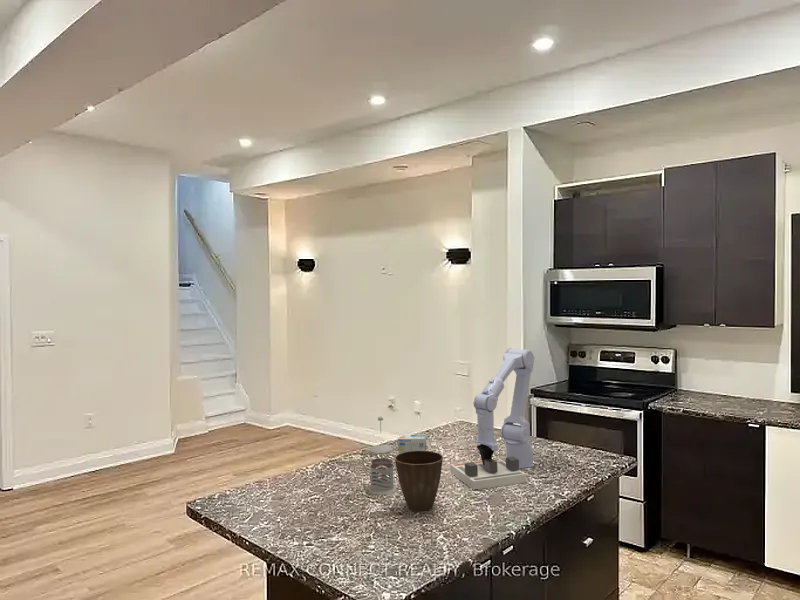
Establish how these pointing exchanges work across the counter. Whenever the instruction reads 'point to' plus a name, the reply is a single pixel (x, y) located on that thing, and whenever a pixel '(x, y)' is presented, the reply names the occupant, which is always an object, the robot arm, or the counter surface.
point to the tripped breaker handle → (490, 465)
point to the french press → (381, 470)
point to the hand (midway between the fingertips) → (486, 465)
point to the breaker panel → (481, 478)
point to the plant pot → (419, 478)
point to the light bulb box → (411, 443)
